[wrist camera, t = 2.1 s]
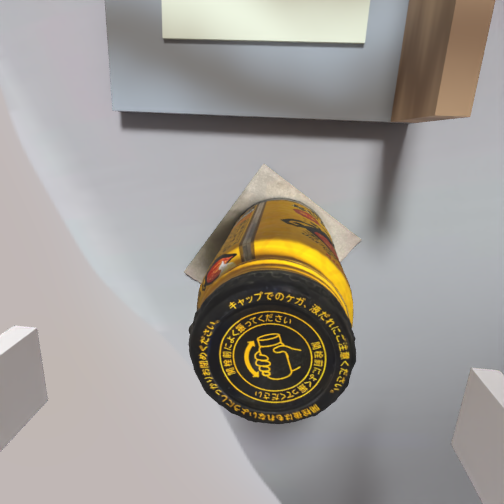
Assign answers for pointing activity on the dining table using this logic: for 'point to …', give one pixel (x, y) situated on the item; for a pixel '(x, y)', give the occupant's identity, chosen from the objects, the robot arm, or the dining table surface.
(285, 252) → the condiment
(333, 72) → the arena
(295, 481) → the dining table surface
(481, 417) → the robot arm
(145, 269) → the dining table surface
